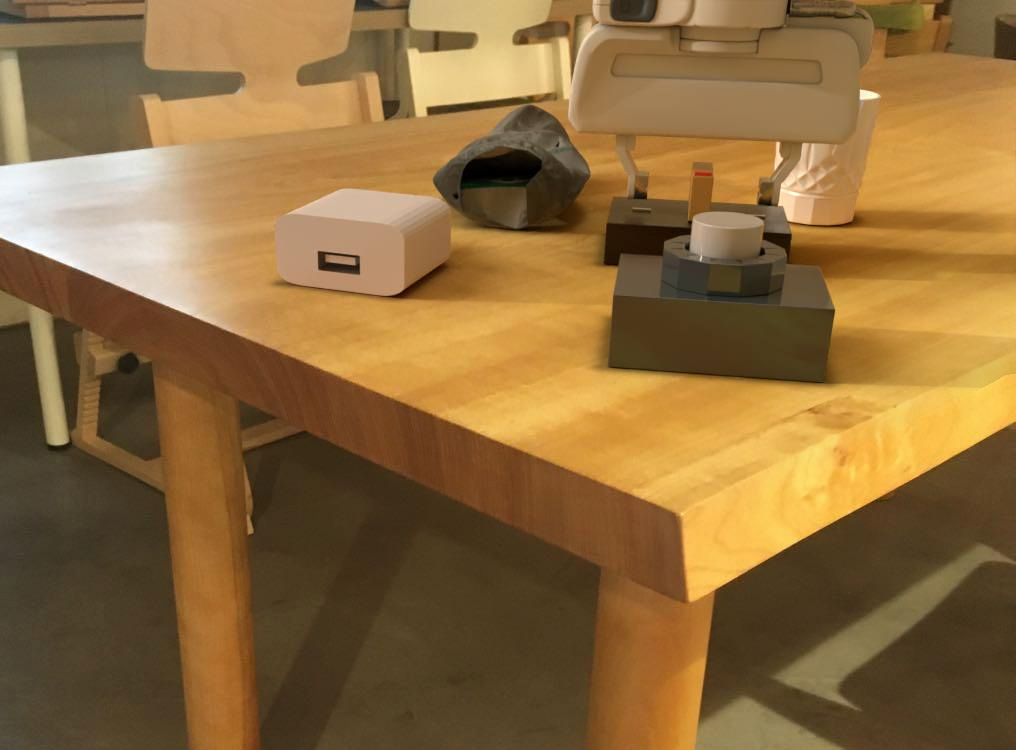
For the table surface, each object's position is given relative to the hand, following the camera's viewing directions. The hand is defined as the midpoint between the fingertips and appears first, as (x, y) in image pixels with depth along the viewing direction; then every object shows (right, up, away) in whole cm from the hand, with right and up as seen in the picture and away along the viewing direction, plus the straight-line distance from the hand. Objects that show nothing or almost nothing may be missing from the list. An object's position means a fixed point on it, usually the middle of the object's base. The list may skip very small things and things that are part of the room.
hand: (701, 201), depth 91 cm
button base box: (-2, -14, -18) cm, 22 cm away
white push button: (-2, -9, -20) cm, 22 cm away
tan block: (0, -1, +1) cm, 1 cm away
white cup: (+12, +2, +14) cm, 19 cm away
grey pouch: (-13, +5, +17) cm, 22 cm away
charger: (-23, -5, -2) cm, 24 cm away
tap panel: (0, -3, +2) cm, 4 cm away
